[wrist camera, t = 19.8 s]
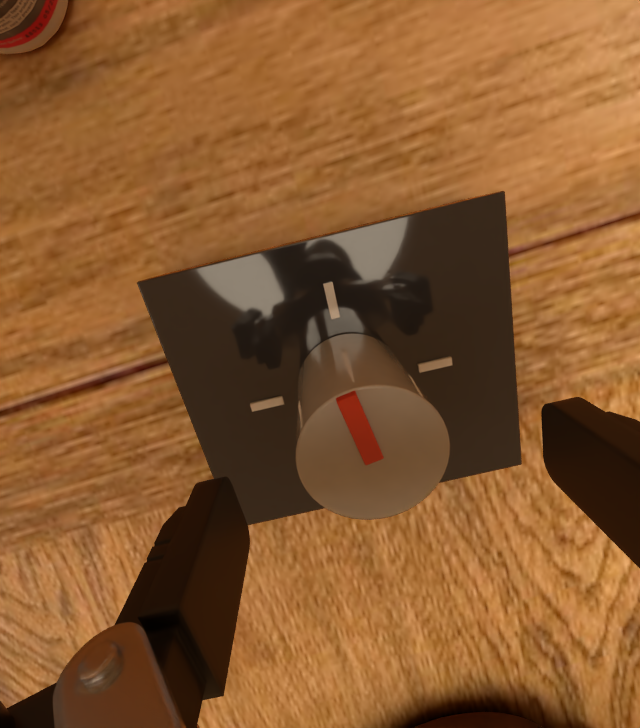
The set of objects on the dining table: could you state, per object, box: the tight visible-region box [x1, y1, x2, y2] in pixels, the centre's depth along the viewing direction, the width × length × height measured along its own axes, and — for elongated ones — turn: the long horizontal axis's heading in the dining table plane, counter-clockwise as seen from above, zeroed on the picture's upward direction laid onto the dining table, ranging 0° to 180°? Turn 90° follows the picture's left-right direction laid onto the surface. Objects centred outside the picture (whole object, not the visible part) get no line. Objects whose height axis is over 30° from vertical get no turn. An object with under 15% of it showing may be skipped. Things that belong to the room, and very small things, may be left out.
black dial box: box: [137, 191, 522, 525], centre depth 17 cm, size 14×12×3 cm
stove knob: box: [295, 334, 450, 520], centre depth 13 cm, size 4×4×6 cm
